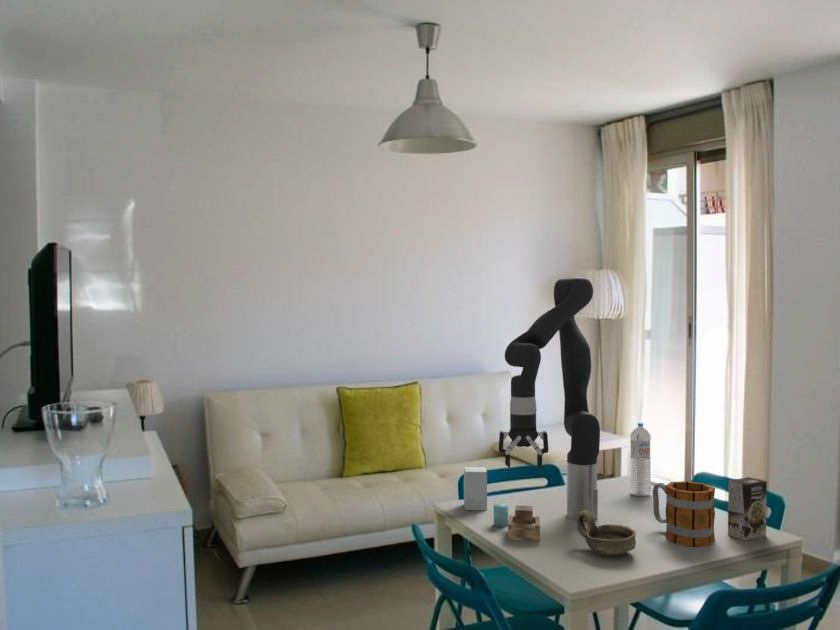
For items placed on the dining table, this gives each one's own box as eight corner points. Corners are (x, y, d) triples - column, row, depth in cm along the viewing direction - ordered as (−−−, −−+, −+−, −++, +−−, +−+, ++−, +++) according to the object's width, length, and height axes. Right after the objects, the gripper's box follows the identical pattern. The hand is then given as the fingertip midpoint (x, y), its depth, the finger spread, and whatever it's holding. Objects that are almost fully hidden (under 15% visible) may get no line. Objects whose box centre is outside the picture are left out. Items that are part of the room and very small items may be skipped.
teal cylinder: (508, 523, 231) (508, 503, 231) (508, 527, 227) (507, 507, 226) (493, 522, 232) (493, 503, 231) (493, 527, 227) (493, 507, 227)
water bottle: (631, 496, 260) (631, 424, 259) (629, 491, 267) (629, 421, 266) (651, 497, 259) (652, 425, 258) (649, 492, 266) (649, 421, 265)
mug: (725, 541, 213) (725, 488, 213) (695, 550, 206) (695, 495, 205) (668, 523, 230) (668, 474, 229) (638, 531, 222) (638, 480, 222)
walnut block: (532, 522, 221) (532, 505, 221) (532, 528, 216) (532, 510, 216) (515, 522, 222) (515, 505, 222) (515, 527, 217) (515, 510, 217)
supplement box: (487, 510, 244) (487, 471, 244) (464, 510, 245) (464, 471, 244) (485, 504, 252) (485, 466, 251) (463, 504, 252) (463, 466, 252)
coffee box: (745, 541, 213) (746, 484, 213) (726, 534, 219) (727, 479, 218) (767, 536, 217) (767, 480, 217) (748, 530, 223) (748, 476, 223)
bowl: (620, 566, 194) (620, 528, 194) (563, 550, 207) (563, 514, 206) (647, 553, 204) (647, 516, 203) (591, 538, 216) (591, 504, 216)
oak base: (539, 531, 223) (539, 516, 223) (539, 540, 214) (539, 525, 214) (508, 529, 224) (508, 515, 224) (508, 539, 215) (507, 524, 215)
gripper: (546, 409, 222) (547, 464, 222) (498, 409, 223) (498, 464, 223) (549, 413, 214) (549, 470, 215) (498, 413, 215) (499, 470, 216)
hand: (523, 467), depth 219 cm, fingers open, 8 cm apart
